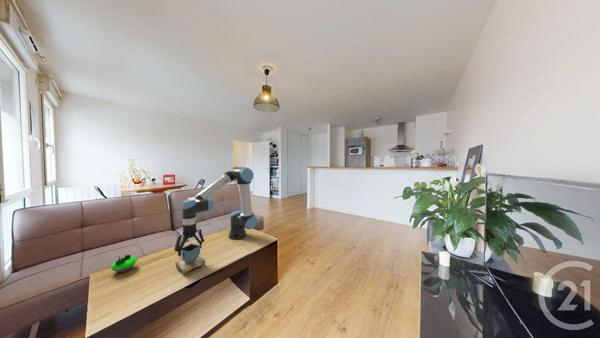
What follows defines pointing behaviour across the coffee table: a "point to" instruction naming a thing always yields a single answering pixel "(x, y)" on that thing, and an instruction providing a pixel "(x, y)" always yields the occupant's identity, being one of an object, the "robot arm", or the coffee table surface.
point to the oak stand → (189, 265)
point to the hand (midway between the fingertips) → (190, 256)
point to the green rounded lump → (124, 263)
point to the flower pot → (191, 253)
